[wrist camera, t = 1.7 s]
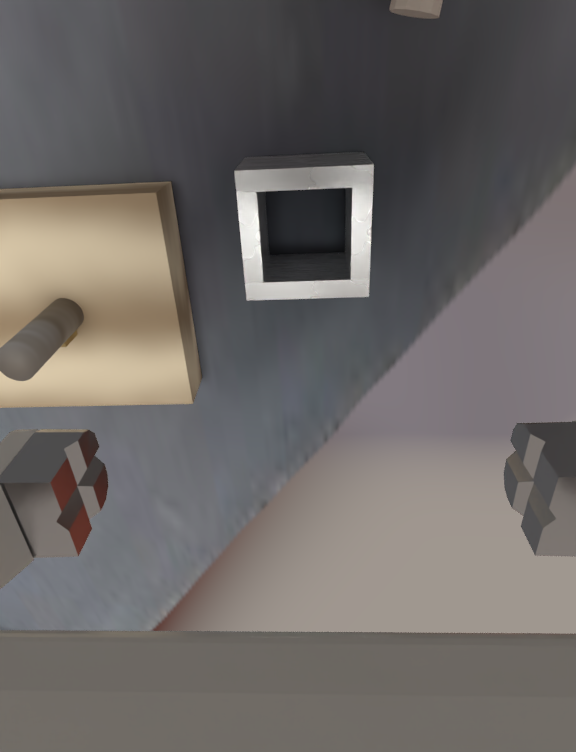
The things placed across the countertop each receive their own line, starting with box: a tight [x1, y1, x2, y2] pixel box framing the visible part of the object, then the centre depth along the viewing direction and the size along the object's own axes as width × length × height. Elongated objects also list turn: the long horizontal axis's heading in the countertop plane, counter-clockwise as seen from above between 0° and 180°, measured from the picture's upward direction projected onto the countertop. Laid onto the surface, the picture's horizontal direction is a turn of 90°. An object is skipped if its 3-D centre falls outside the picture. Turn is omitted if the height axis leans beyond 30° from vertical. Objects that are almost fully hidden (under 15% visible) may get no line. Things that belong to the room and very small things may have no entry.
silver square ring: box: [234, 152, 374, 301], centre depth 25 cm, size 6×6×4 cm
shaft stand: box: [0, 181, 202, 408], centre depth 26 cm, size 12×12×8 cm
